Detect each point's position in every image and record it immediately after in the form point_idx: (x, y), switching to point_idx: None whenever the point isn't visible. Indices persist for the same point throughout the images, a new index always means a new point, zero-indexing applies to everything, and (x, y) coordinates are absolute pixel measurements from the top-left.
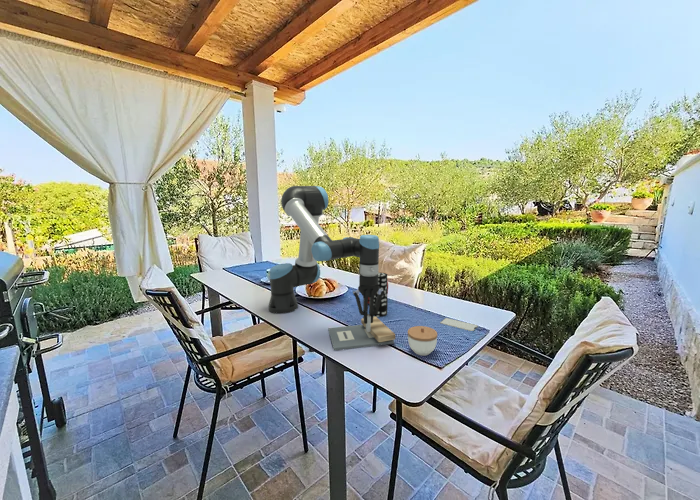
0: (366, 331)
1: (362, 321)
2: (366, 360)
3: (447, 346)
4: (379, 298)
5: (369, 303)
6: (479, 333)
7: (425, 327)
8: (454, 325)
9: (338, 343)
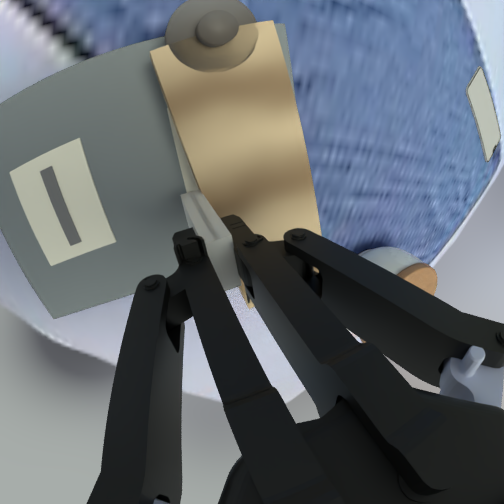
0: (180, 142)
1: (158, 78)
2: (184, 346)
3: (423, 237)
4: (408, 362)
5: (282, 317)
6: (487, 173)
7: (428, 280)
8: (480, 121)
9: (53, 284)
